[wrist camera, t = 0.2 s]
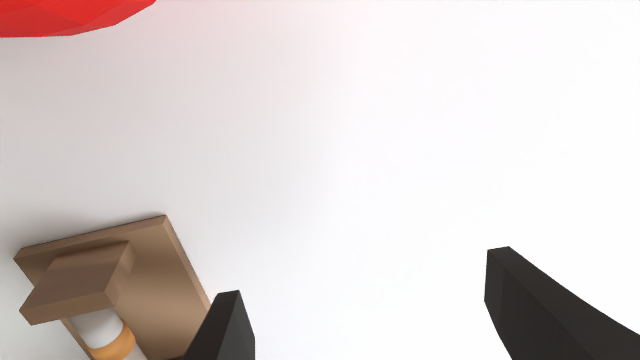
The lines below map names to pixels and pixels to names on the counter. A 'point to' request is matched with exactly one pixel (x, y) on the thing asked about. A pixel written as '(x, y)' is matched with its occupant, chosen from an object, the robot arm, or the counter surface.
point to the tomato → (63, 16)
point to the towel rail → (118, 291)
